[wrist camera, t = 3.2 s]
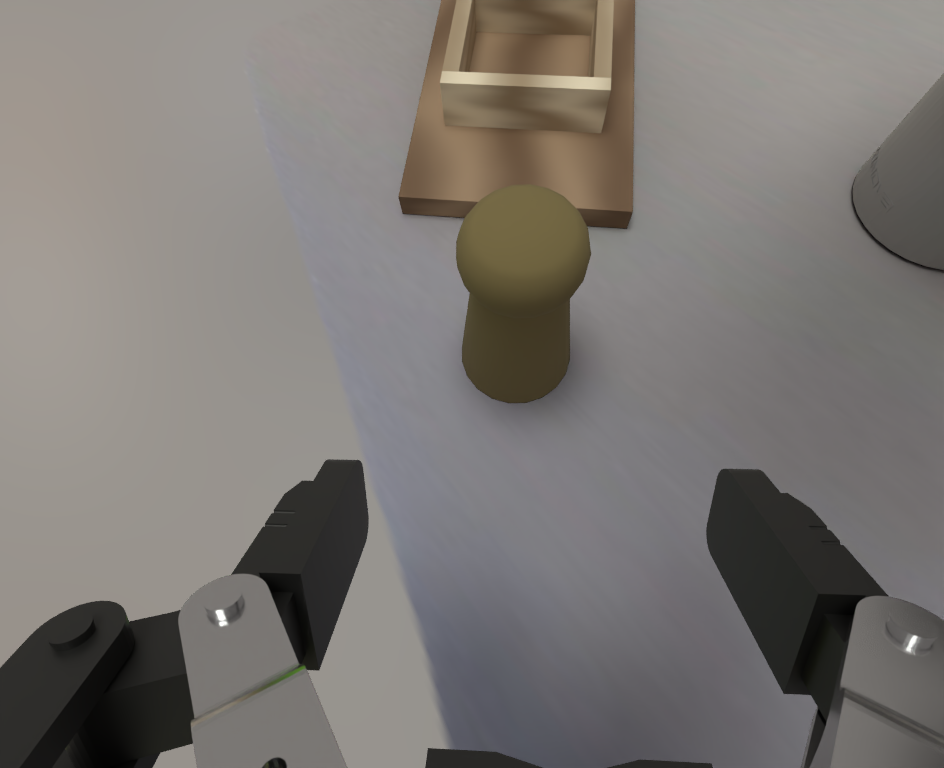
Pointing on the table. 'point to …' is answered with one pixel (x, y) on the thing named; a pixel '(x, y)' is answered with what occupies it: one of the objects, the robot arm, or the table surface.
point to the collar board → (526, 107)
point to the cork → (520, 289)
